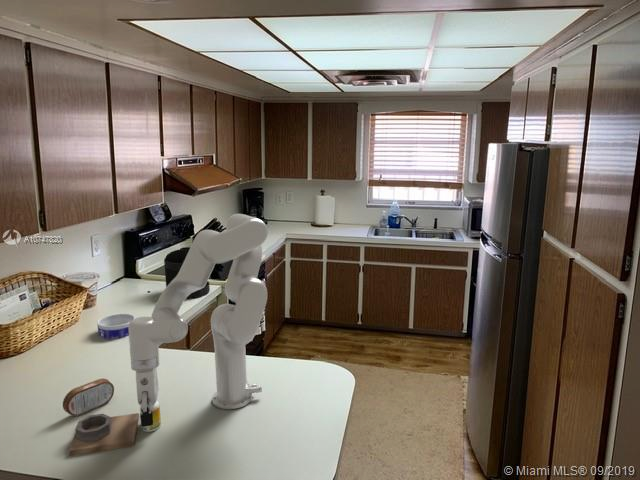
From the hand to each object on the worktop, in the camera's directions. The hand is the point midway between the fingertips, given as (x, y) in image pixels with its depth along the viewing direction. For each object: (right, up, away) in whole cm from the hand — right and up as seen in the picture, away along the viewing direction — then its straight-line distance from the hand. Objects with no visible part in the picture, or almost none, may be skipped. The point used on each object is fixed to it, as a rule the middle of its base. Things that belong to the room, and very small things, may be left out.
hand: (148, 416), depth 138 cm
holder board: (-11, -4, -3) cm, 12 cm away
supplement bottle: (+1, -4, +1) cm, 4 cm away
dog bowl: (-39, +10, +70) cm, 81 cm away
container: (-23, +22, +123) cm, 127 cm away
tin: (-22, -2, +11) cm, 24 cm away
